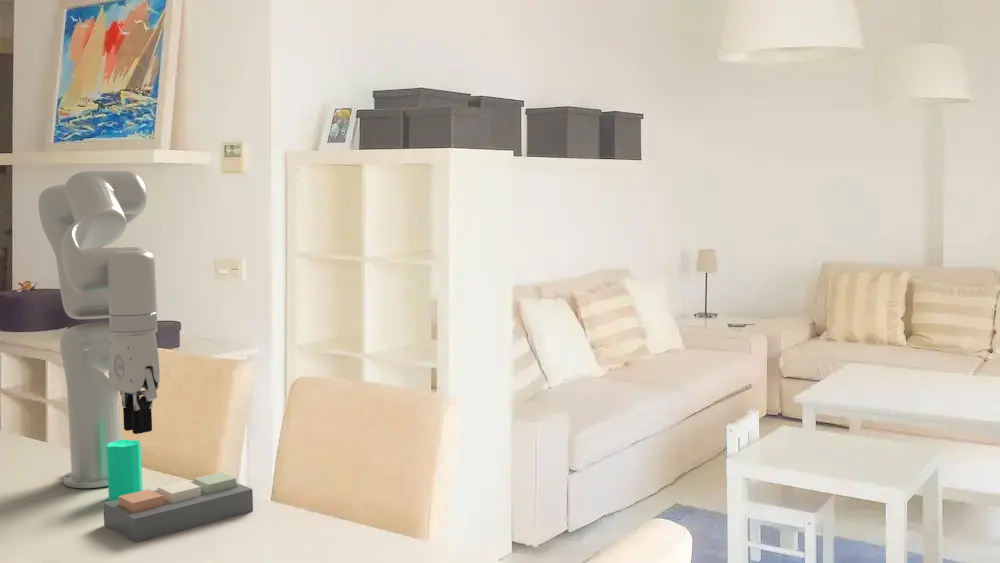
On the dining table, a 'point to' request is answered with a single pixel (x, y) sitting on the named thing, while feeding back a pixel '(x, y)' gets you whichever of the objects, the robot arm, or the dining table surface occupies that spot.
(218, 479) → the key sage
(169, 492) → the key cream
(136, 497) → the key terracotta
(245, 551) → the dining table surface
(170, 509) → the keypad
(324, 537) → the dining table surface
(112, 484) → the candle
